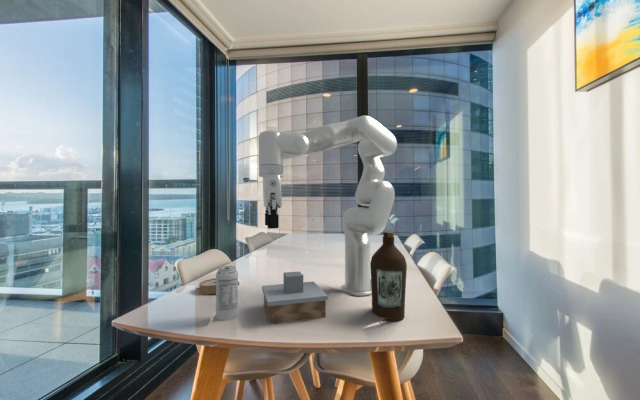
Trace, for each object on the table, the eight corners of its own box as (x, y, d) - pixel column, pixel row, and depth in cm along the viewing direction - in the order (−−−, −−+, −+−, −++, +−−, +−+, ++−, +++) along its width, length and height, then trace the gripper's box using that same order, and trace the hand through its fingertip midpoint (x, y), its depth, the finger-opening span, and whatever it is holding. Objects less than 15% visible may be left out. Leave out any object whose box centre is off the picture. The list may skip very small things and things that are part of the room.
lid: (313, 288, 98) (313, 266, 98) (327, 303, 83) (327, 278, 83) (261, 292, 93) (262, 270, 93) (267, 310, 78) (267, 283, 78)
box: (312, 303, 97) (312, 285, 97) (325, 320, 84) (325, 299, 84) (263, 308, 92) (263, 289, 92) (269, 327, 79) (269, 305, 79)
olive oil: (369, 307, 94) (370, 229, 93) (403, 309, 92) (404, 230, 92) (370, 321, 83) (371, 233, 83) (409, 324, 82) (409, 234, 81)
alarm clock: (207, 278, 118) (242, 272, 116) (209, 290, 118) (244, 285, 116) (192, 286, 106) (231, 280, 105) (194, 300, 106) (233, 294, 105)
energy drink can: (237, 314, 88) (238, 264, 88) (237, 322, 82) (238, 269, 82) (216, 316, 86) (216, 265, 86) (215, 324, 81) (215, 270, 81)
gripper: (287, 169, 84) (287, 229, 84) (279, 174, 100) (280, 223, 100) (260, 169, 82) (261, 230, 82) (257, 173, 98) (257, 224, 99)
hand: (271, 226), depth 91 cm, fingers open, 9 cm apart
